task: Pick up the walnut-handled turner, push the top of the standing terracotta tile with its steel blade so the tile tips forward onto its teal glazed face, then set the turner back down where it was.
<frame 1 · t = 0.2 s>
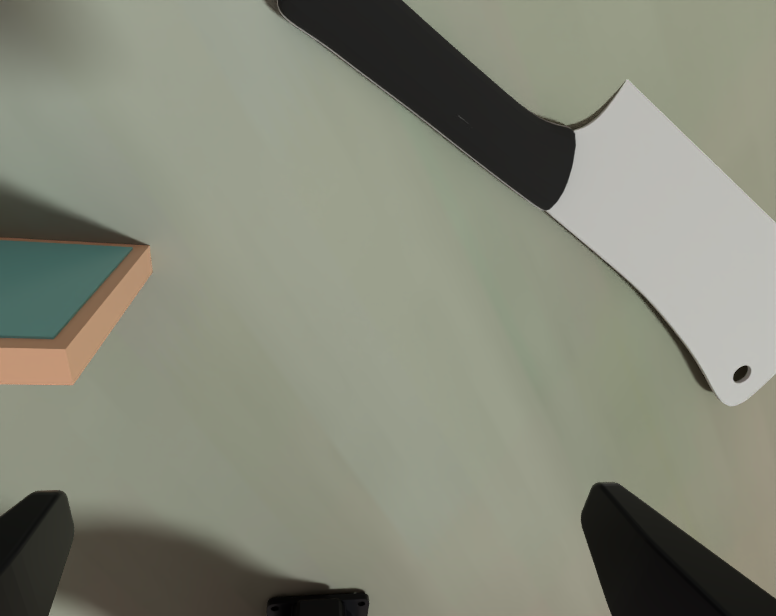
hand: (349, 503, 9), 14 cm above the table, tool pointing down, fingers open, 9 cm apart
kitchen cleaver: (616, 173, 23), on the table
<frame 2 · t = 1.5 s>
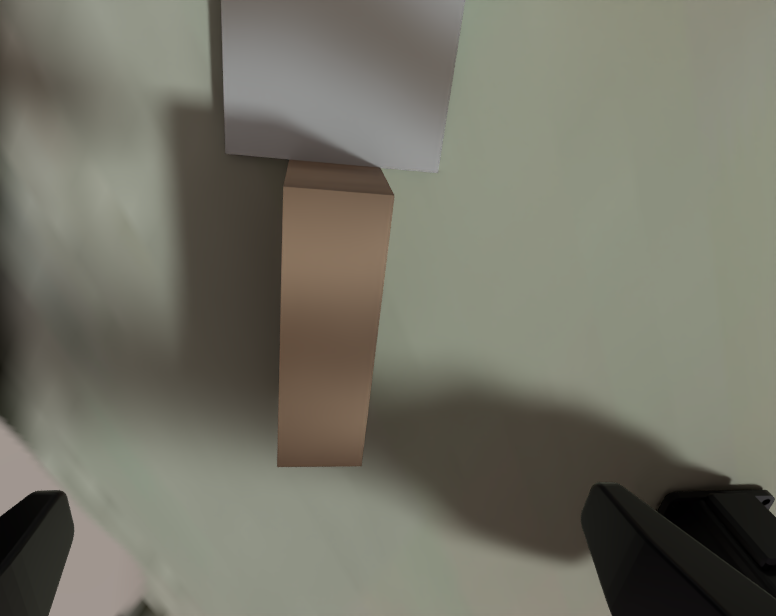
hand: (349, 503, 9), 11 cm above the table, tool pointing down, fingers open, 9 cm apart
turner: (326, 292, 19), on the table
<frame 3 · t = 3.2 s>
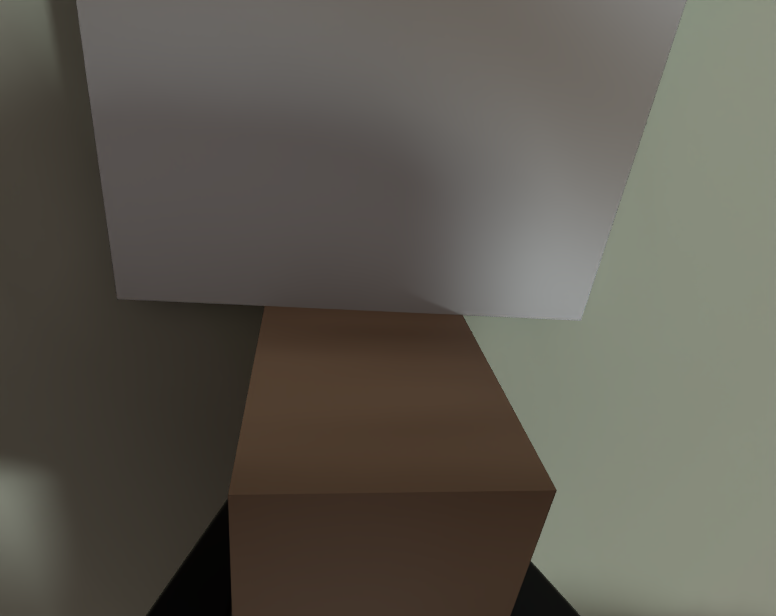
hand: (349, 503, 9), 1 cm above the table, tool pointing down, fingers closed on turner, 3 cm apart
turner: (340, 515, 10), on the table, touching gripper
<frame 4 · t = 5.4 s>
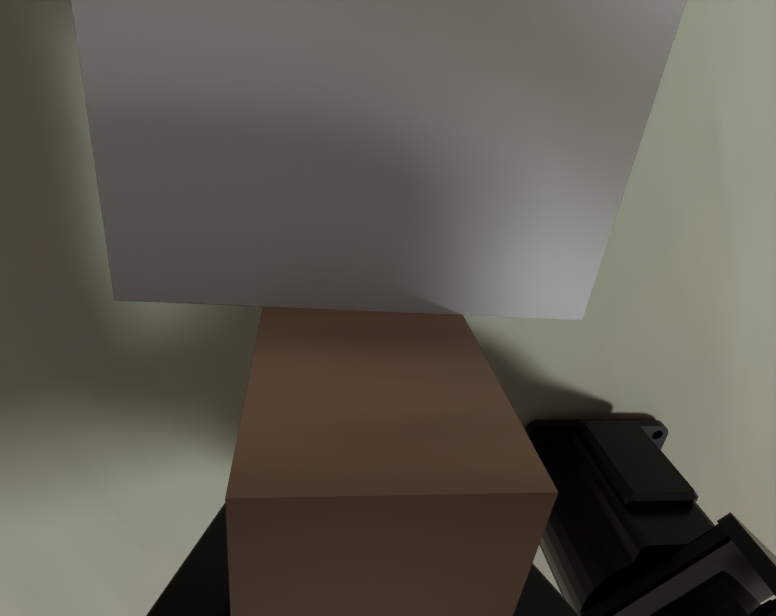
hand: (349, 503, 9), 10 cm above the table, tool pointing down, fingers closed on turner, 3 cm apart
turner: (340, 517, 10), point 9 cm above the table, touching gripper
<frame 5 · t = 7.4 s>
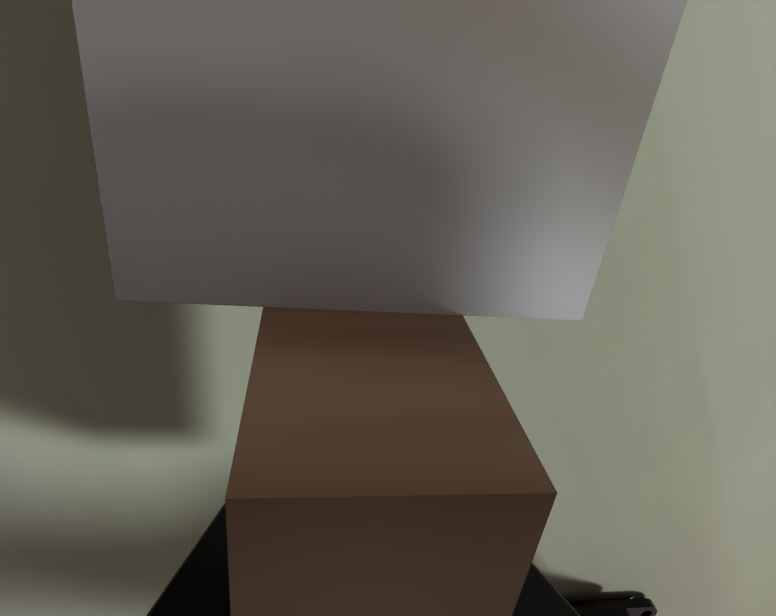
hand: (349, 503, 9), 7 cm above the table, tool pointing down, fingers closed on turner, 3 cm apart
turner: (340, 516, 10), point 6 cm above the table, touching gripper
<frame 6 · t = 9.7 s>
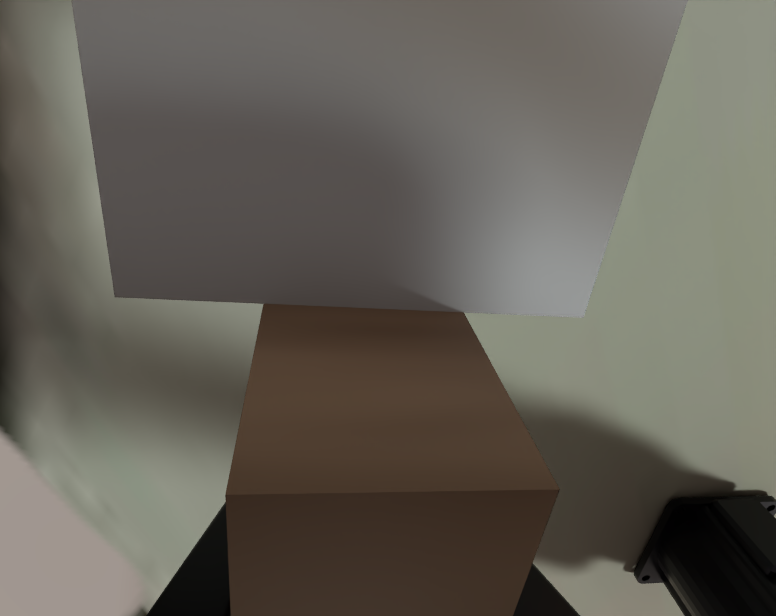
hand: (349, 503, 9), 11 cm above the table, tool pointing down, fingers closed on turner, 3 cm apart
turner: (341, 515, 10), point 10 cm above the table, touching gripper
when the fingers open (2 cm above the table, at t = 11.5 s): turner drops 2 cm, on the table.
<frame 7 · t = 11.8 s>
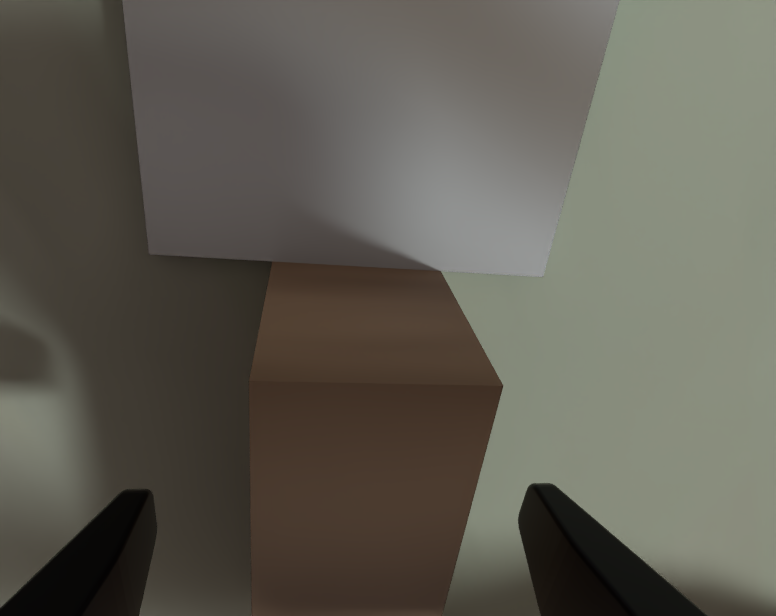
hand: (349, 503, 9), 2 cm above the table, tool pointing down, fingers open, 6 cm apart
turner: (337, 457, 12), on the table
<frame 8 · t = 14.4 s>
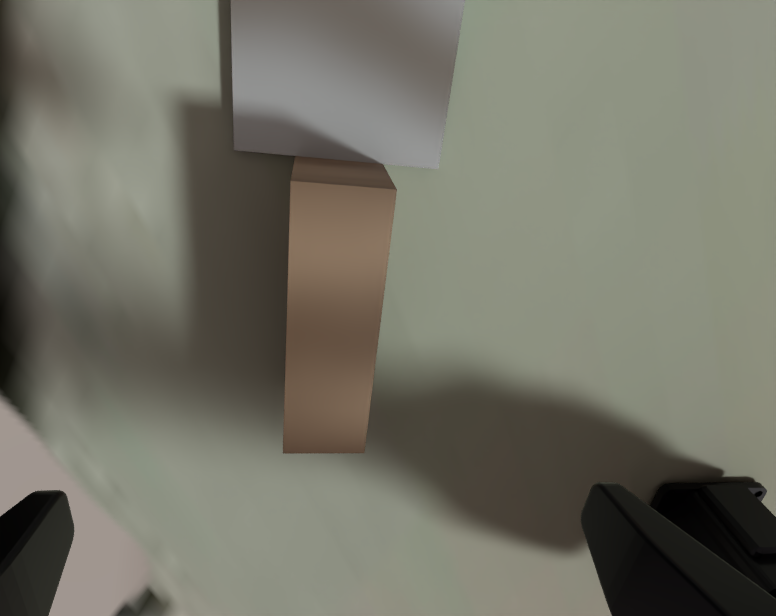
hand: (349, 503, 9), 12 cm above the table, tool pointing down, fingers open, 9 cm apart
turner: (329, 285, 20), on the table
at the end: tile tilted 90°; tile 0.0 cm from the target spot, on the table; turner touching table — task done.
